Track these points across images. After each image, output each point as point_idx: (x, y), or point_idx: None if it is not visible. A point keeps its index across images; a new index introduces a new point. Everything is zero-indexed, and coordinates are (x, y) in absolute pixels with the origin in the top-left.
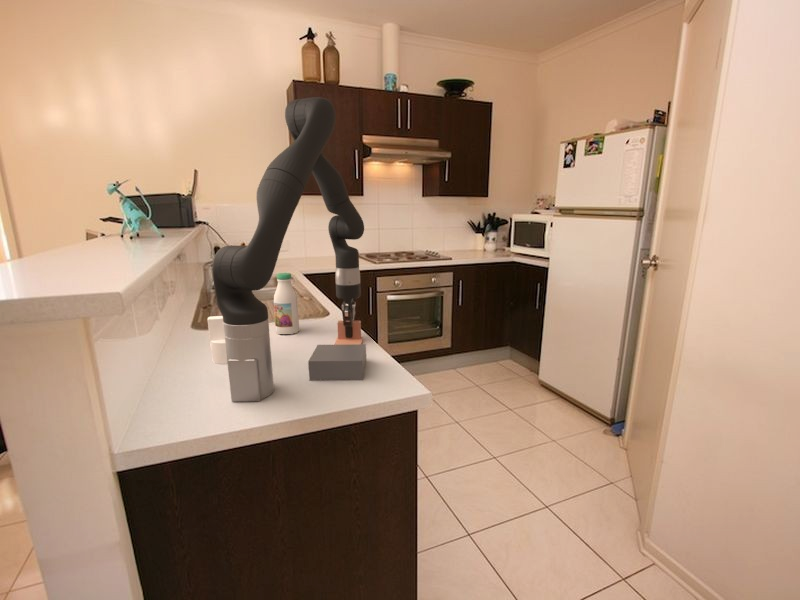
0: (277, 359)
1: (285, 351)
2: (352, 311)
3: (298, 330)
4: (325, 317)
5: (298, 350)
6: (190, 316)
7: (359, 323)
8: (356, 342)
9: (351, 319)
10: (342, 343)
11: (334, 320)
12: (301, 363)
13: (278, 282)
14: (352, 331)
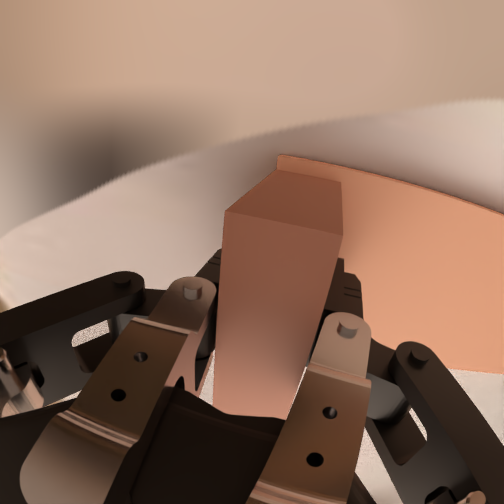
0: None
1: (361, 469)
2: (342, 486)
3: None
4: (3, 299)
5: (370, 450)
6: None
7: (341, 239)
8: (414, 226)
9: (441, 407)
10: (400, 319)
11: (12, 277)
12: (496, 431)
13: None
14: (332, 277)
